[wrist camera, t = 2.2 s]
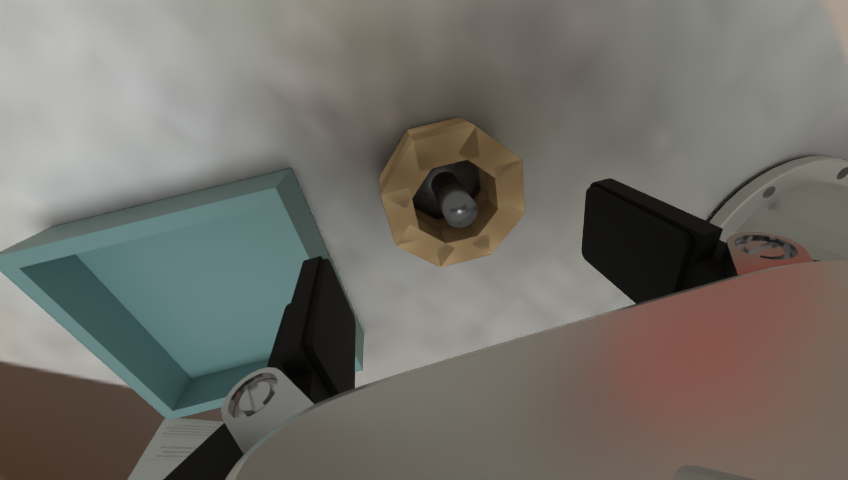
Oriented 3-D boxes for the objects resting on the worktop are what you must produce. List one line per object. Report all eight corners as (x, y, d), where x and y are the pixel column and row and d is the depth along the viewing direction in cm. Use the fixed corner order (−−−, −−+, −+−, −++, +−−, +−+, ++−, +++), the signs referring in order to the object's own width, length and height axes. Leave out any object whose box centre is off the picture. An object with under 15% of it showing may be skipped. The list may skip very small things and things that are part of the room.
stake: (483, 117, 17) (519, 133, 13) (492, 211, 20) (524, 249, 16) (380, 142, 17) (382, 166, 13) (405, 233, 20) (413, 277, 16)
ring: (496, 107, 16) (520, 115, 14) (506, 222, 20) (525, 245, 17) (368, 139, 16) (368, 152, 14) (400, 249, 20) (404, 276, 17)
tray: (291, 167, 17) (275, 187, 14) (363, 334, 24) (362, 369, 21) (51, 226, 17) (-14, 258, 14) (192, 378, 24) (168, 420, 21)
